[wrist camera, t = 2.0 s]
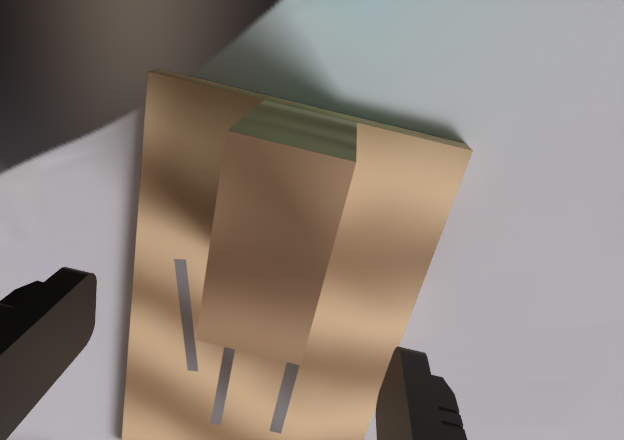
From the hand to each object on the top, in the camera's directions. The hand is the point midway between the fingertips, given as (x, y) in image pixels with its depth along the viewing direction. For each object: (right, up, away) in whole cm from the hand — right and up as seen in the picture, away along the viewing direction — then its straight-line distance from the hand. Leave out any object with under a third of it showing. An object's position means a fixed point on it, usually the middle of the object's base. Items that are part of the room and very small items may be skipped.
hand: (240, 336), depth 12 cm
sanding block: (+1, +4, +9) cm, 10 cm away
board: (-1, -3, +13) cm, 13 cm away
